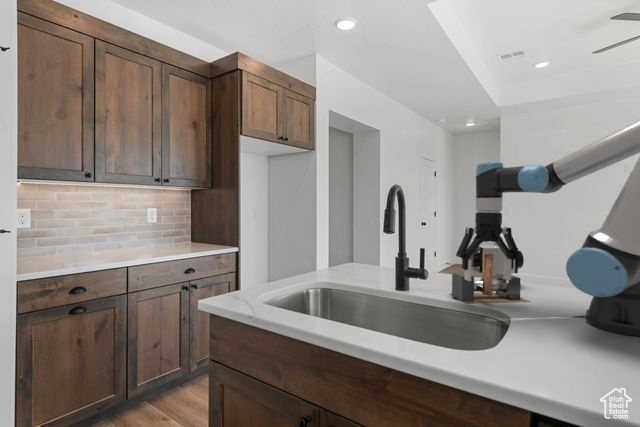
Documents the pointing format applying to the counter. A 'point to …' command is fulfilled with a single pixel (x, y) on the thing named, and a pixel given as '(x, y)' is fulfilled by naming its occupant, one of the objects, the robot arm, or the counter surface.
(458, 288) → the dark grey block
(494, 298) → the board
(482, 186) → the robot arm
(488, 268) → the slip tube
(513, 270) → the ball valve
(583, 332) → the counter surface
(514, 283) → the clamp
